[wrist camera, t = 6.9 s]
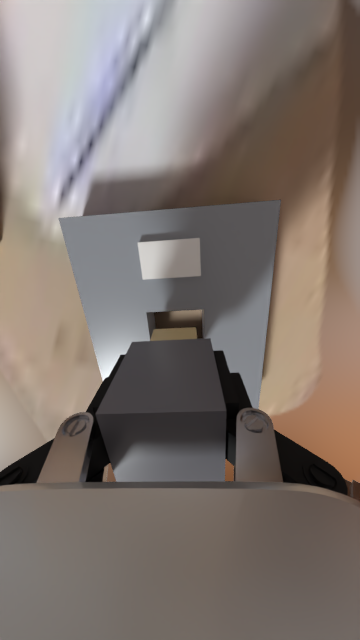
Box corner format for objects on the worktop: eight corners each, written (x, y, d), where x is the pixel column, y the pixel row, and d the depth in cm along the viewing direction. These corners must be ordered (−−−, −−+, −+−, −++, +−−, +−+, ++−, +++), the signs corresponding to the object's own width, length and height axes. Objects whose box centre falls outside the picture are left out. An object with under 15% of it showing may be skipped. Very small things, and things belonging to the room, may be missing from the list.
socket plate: (80, 220, 16) (54, 217, 13) (263, 205, 15) (284, 198, 12) (122, 397, 23) (111, 424, 20) (248, 393, 22) (259, 421, 19)
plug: (142, 320, 14) (95, 414, 7) (205, 317, 14) (226, 410, 7) (150, 372, 16) (119, 491, 9) (206, 370, 16) (224, 490, 8)
